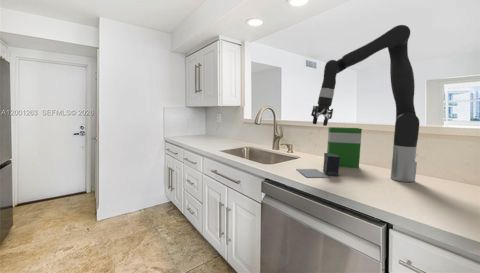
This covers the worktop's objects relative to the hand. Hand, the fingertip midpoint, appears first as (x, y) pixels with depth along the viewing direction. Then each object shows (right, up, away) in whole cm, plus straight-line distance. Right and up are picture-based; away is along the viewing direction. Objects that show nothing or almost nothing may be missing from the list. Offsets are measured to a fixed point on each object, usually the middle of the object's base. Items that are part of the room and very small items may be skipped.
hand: (319, 124), depth 129 cm
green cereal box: (+19, -25, +12) cm, 34 cm away
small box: (+3, -27, -8) cm, 28 cm away
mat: (-7, -27, -9) cm, 29 cm away
